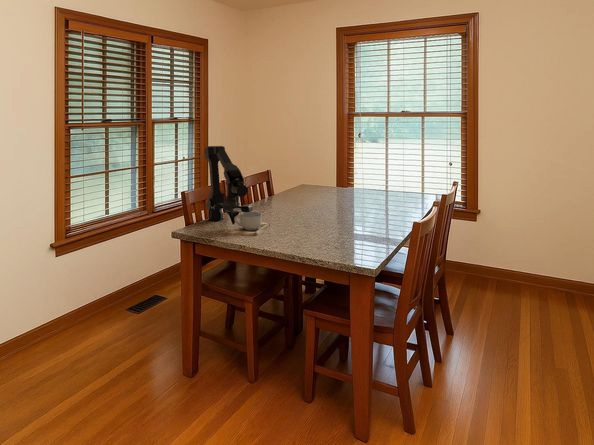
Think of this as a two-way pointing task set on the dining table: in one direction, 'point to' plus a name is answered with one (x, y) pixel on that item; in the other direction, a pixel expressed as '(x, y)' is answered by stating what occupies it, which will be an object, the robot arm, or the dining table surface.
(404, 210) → the dining table surface
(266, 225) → the frame
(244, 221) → the teacup
